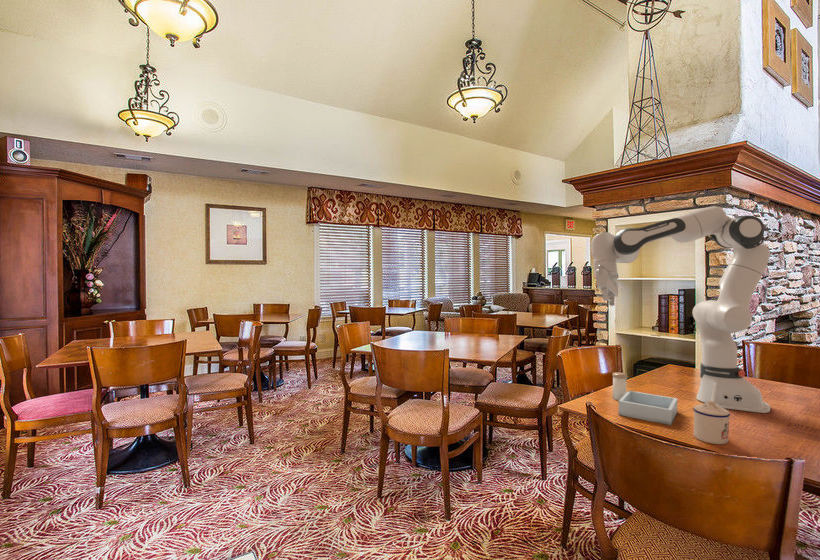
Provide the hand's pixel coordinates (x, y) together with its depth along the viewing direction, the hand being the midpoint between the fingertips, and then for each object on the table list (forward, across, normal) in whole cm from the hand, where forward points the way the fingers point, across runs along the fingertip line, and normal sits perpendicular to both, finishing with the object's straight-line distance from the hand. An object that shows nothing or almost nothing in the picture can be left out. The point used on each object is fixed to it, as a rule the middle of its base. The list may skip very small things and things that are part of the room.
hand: (609, 303), depth 170 cm
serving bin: (+42, 0, -8) cm, 43 cm away
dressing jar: (+36, +11, +3) cm, 38 cm away
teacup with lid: (+50, -11, -26) cm, 57 cm away
